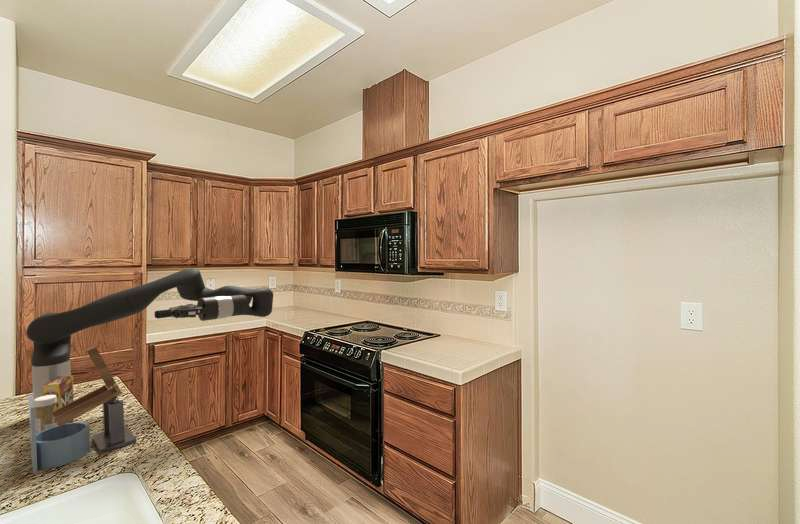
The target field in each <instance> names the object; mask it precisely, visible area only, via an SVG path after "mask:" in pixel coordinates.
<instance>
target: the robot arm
mask: <svg viewBox="0 0 800 524" xmlns="http://www.w3.org/2000/svg"><path fill="white" fill-rule="evenodd" d="M175 288H176V291H177V293H178V295H179V296H180V298H181V299H182V300H187V301H193V302H197V303H196V304H193V303H188V304H187V303H186V304H185V305H182V304H181V305H177V306H172V307H169V308H168V309H160V310H159V309H158V310H155V311H154V318H155V319H165V318H172V319H173V318H175V319H179V318H180V319H185V318H190V319H191V318H196V317H197V316H198V318H199V320H200V321H202V322H205V321H212V320H220V319H221V320H222V319H226V318H228V317H229V318H230V317H235V316H253V317H259V318H265V317H268V316H269V315H270V314H271V313H272V312H273V302H274V293H273V291H272V290H271V289H270V288H267V287H258V288H245V287H240V286H237V285H224V286H220V287H218V288H217V289H211V288H209V287H206V286H205V282H204V280H203V277H202V274H201V271H200V270H199V269H197V268H186V269H182V270H179V271H177V272H176V271H175V272H174V273H171V274H169V275H167V276H163V277H162V278H158V279H156V280H153V281H150V282H146V283H144V284H140V285H137V286H134V287H131V288H127V289H125V290H121V291H117V292H113V293H111V294H108V295H105V296H103V297H101V298H98V299H95V300H94V301H92V302H91V301H90V302H89V303H87V304H84V305H83V306H79V307H77V308H73V309H69V310H66V311H62V312H47V313H45V314H41V315H39V316H38V317H36V318H34V319H33V320H32V321H31V322H30V323H29V324H28V326H27V329H26V337H27V338H28V339H29V340H30V341H31V342H33V351H32V355H31V358H30V359H31V360H30V361H31V375H32V376H31V378H32V382H31V383H32V398H33V402H34V400H35V399H36V398H38V397H41V396H43V388H42V386H43V385H45V384H46V383H48V382H50V381H51V380H53V379H55V378H56V377H59V376H66V375H72V374H71V349H72V342H71V341H72V339H71V337H72V336H71V335H73V334H76V333H78V332H80V331H84V330H86V329H89V328H92V327H97V326H100V325H103V324H107V323H110V322H111V323H112V322H114V321H118V320H121V319H125V318H127V317H130V316H133V315H136V314H139V313H141V312H143V311H144V310H145V309H147V307H149V306H150V305H151V304H152V303H153V302H154V300H155V299H157V298H158V297H159V296H161V294H163V293H165V292H167V291H169V290H172V289H175ZM250 304H251V306H250Z"/></svg>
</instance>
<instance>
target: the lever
mask: <svg viewBox="0 0 800 524" xmlns="http://www.w3.org/2000/svg"><path fill="white" fill-rule="evenodd" d="M85 351H86V353H87V355H88V357H89V358H90V359H91V361H92V364H93V365H94V367H95V368H96V371H97V372H98V374H99V376H100V377H101V380H102V382H103V383H104V385H102V386H100V387H98V388H96V389H94V390H92V391H90V392H88V393H86V394H84V395H83V396H80V397H78V398H77V399H75V400H73V402H71V403H69V404H67V405H65V406H63V407H61V408H59V409H57V410H55V411H53V412H52V414H53V415H54V417H55V418H54V420H55V422H56V423H57V425H58V426H59V427H61V426H62V425H64V424H66V423H68V422H70V421H72V420H74V421H75V419H77V418H79V417H82V416H83V415H85V414H87V413H88V412H90V411H92V410H94V409H95V408H98V407H100V406H101V405H103V403H105V402H107V401H109V400H111V401H112V400H113V398H118V399H119V395H122V394H123V392H122V391H121V389H120V386H119V385H118V384H117V382H116V381H115V379H114V377H113V375H112V374H111V372H110V370H109V368H108V366H107V363H105V361H104V359H103V357H102V355H101V354H100V352H99V350H98V348H97V347H96V346H95V345H93V346H91V347H89V348H86V349H85ZM112 402H113V401H112Z"/></svg>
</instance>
